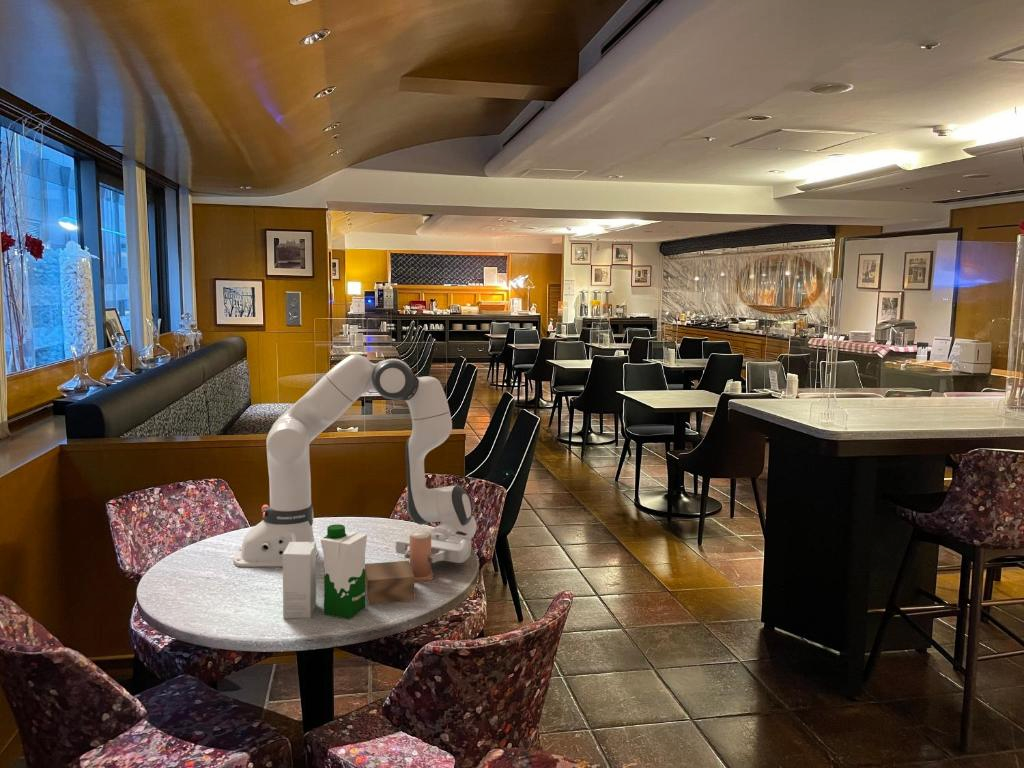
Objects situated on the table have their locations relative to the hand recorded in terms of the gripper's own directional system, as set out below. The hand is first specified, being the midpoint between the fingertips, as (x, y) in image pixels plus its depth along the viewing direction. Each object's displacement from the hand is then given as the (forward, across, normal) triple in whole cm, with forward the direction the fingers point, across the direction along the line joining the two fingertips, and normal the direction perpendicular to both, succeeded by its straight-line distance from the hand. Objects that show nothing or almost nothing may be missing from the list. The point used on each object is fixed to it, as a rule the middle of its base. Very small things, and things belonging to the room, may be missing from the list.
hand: (418, 557), depth 194 cm
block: (+12, -2, +6) cm, 13 cm away
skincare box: (+29, -15, +6) cm, 33 cm away
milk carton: (+25, -6, +6) cm, 26 cm away
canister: (-1, 0, +6) cm, 6 cm away
